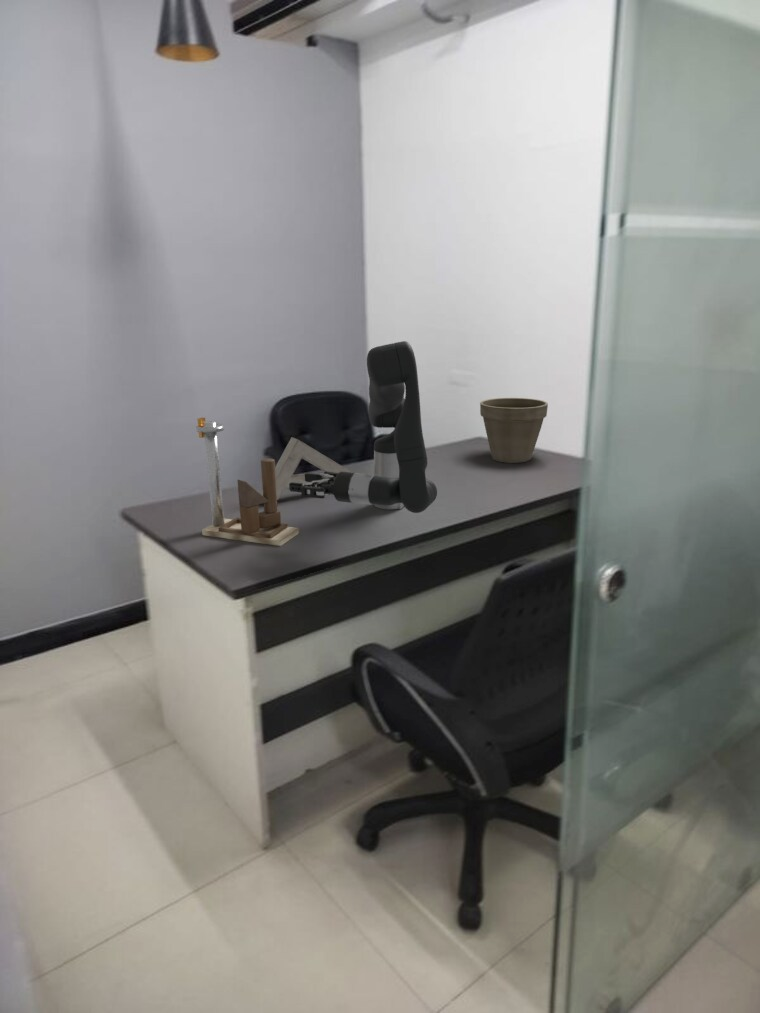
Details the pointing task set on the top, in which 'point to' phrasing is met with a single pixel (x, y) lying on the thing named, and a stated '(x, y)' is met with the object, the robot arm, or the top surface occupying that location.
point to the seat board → (264, 535)
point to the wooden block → (259, 501)
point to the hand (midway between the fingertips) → (297, 481)
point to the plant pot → (513, 427)
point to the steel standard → (213, 467)
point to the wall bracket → (291, 460)
